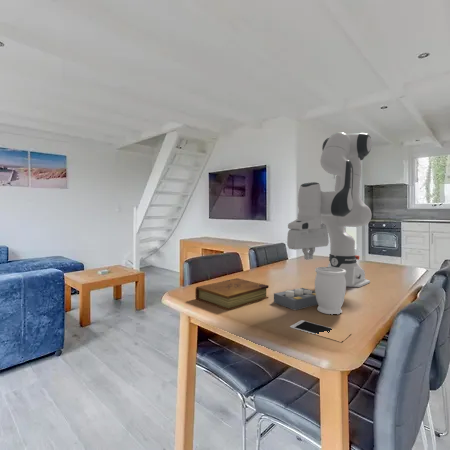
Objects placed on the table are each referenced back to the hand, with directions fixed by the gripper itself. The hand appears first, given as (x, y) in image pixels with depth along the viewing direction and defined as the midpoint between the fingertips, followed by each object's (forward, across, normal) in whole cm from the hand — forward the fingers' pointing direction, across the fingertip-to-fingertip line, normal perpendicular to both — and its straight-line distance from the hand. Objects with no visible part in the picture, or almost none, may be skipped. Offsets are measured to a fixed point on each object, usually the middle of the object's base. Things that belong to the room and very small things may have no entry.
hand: (308, 259), depth 120 cm
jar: (+17, +4, +13) cm, 21 cm away
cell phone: (+17, +21, +23) cm, 35 cm away
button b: (+16, 0, 0) cm, 16 cm away
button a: (+14, +10, 0) cm, 18 cm away
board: (+16, +5, 0) cm, 17 cm away
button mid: (+14, +5, 0) cm, 15 cm away
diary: (+17, +24, -18) cm, 35 cm away
